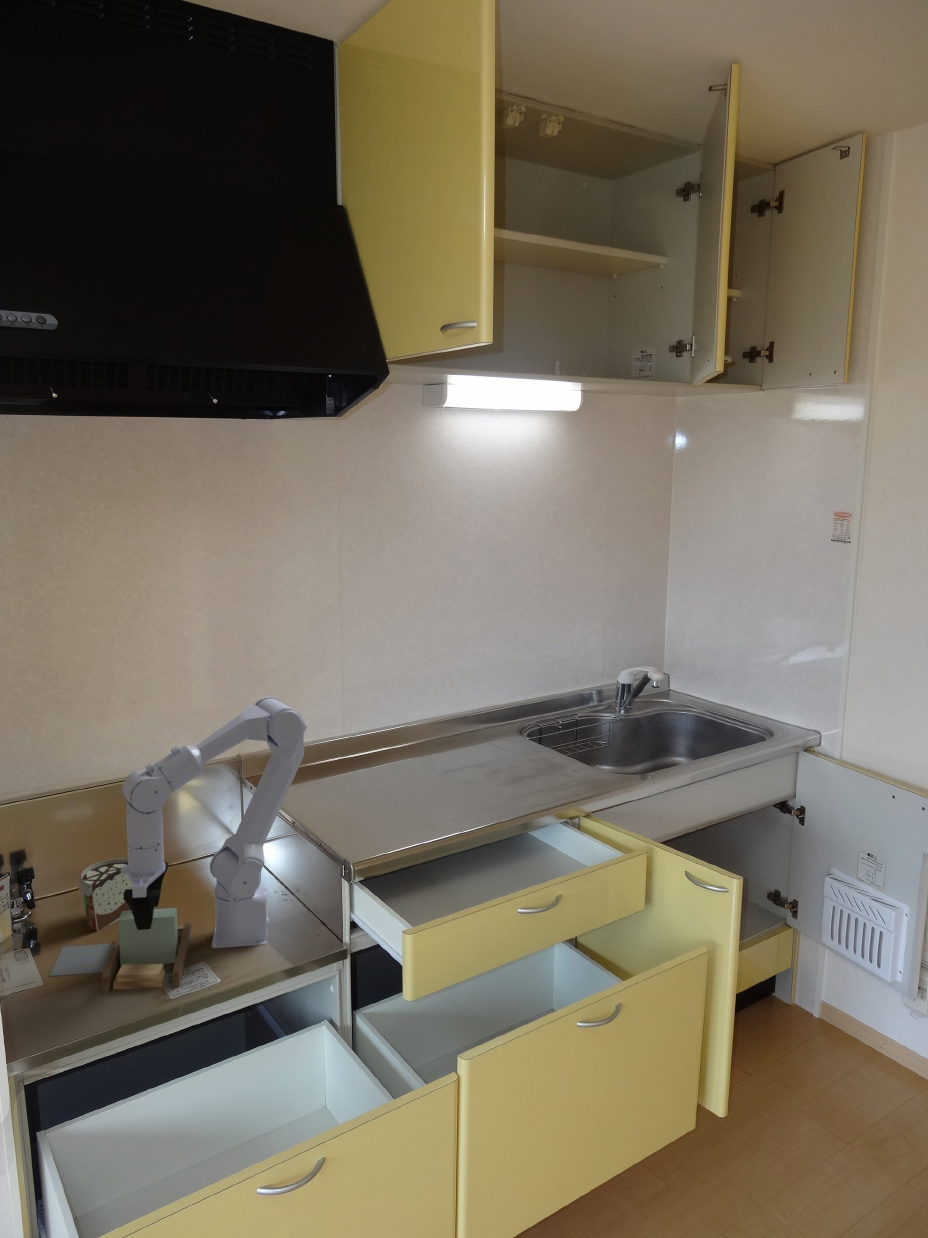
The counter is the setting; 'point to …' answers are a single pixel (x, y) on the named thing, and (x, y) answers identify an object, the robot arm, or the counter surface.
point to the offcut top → (140, 972)
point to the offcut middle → (139, 983)
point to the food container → (104, 892)
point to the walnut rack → (178, 966)
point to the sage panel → (149, 938)
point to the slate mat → (82, 960)
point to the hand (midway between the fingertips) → (148, 917)
